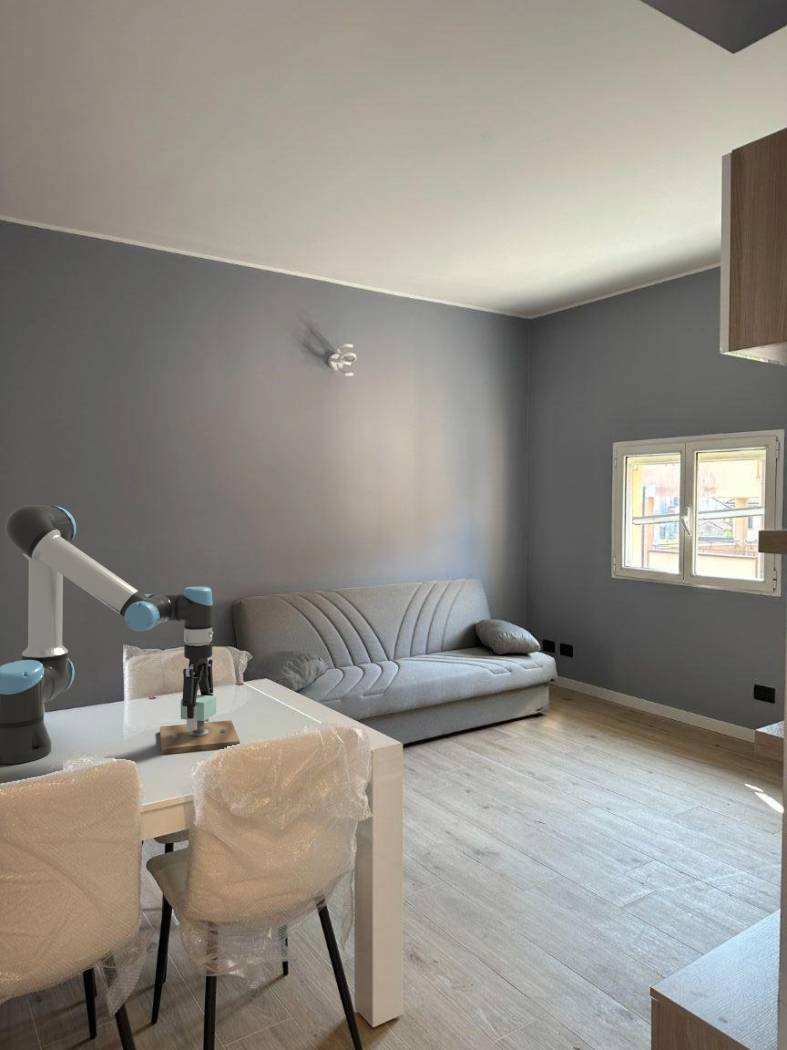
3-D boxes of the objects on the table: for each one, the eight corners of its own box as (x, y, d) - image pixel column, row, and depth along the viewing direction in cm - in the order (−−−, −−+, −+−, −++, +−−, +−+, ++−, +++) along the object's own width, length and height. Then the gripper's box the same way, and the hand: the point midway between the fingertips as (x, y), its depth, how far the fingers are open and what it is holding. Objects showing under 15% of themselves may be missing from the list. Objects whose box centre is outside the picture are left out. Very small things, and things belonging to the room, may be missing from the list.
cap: (216, 713, 204) (216, 695, 203) (204, 721, 197) (203, 701, 197) (189, 711, 205) (189, 693, 205) (176, 718, 199) (176, 699, 199)
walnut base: (161, 754, 188) (161, 731, 188) (160, 731, 207) (160, 710, 207) (239, 746, 195) (239, 724, 195) (231, 725, 214) (231, 705, 214)
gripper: (194, 650, 190) (194, 737, 190) (225, 637, 210) (225, 715, 210) (168, 649, 191) (168, 735, 192) (201, 636, 211) (201, 714, 212)
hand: (198, 725), depth 201 cm, fingers closed on cap, 7 cm apart
